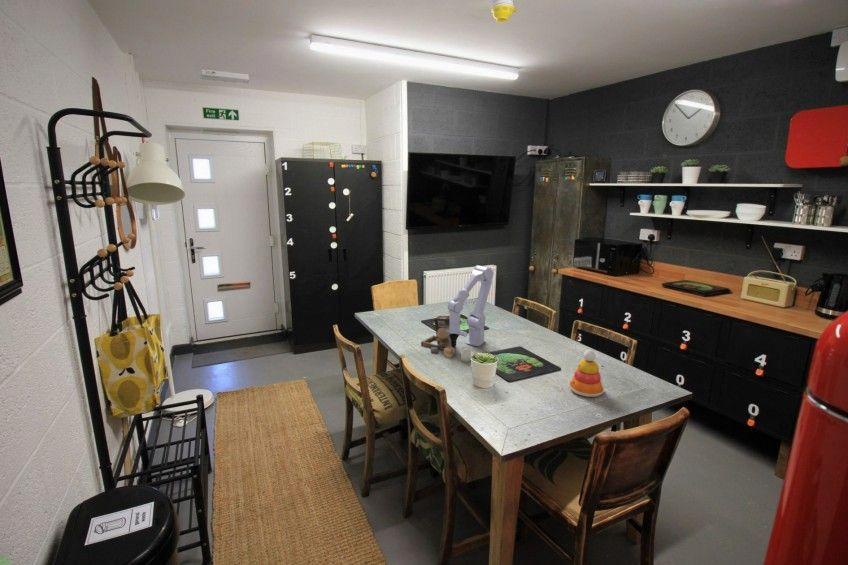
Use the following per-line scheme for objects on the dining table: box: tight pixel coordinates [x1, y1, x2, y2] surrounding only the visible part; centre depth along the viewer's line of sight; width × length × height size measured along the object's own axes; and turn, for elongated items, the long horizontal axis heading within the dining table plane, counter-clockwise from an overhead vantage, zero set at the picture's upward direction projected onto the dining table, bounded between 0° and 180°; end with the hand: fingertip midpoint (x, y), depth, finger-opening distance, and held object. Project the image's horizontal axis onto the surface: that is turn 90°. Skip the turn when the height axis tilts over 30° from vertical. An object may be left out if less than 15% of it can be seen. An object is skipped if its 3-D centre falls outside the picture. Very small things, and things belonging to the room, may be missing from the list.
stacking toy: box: [568, 349, 605, 398], centre depth 178 cm, size 14×14×20 cm
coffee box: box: [434, 315, 453, 348], centre depth 228 cm, size 9×6×16 cm
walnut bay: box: [420, 335, 443, 351], centre depth 232 cm, size 12×13×2 cm
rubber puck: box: [430, 347, 439, 354], centre depth 222 cm, size 4×4×2 cm
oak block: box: [443, 346, 455, 358], centre depth 217 cm, size 4×4×4 cm
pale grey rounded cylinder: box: [460, 346, 472, 363], centre depth 211 cm, size 5×5×6 cm
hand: (454, 346), depth 225 cm, fingers closed
